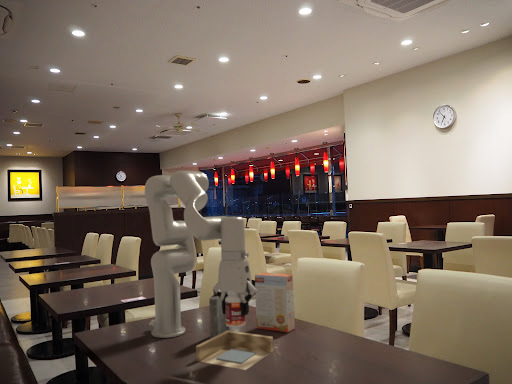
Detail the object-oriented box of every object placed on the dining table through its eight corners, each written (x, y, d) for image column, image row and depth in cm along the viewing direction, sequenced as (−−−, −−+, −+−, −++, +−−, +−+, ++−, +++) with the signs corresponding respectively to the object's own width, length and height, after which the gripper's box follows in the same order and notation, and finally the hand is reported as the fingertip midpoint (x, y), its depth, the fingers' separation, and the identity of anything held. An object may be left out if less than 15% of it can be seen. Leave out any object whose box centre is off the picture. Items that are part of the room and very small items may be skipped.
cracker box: (295, 329, 160) (293, 273, 161) (288, 333, 155) (286, 276, 156) (264, 324, 168) (262, 271, 168) (256, 328, 162) (254, 274, 163)
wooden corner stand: (196, 362, 129) (195, 346, 129) (227, 345, 144) (227, 330, 144) (245, 372, 120) (245, 354, 120) (273, 352, 135) (272, 336, 136)
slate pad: (216, 359, 129) (216, 358, 129) (232, 350, 137) (232, 348, 137) (241, 363, 125) (241, 362, 125) (256, 354, 133) (256, 352, 133)
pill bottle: (232, 329, 127) (230, 292, 127) (222, 325, 132) (220, 289, 133) (249, 325, 130) (248, 289, 131) (239, 321, 136) (237, 286, 136)
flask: (207, 345, 145) (205, 292, 145) (221, 332, 158) (219, 284, 159) (217, 345, 144) (215, 292, 144) (230, 333, 158) (229, 284, 158)
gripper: (263, 255, 131) (265, 313, 130) (217, 254, 140) (219, 308, 139) (251, 258, 125) (253, 319, 124) (203, 256, 133) (205, 314, 132)
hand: (235, 313), depth 131 cm, fingers closed on pill bottle, 6 cm apart
